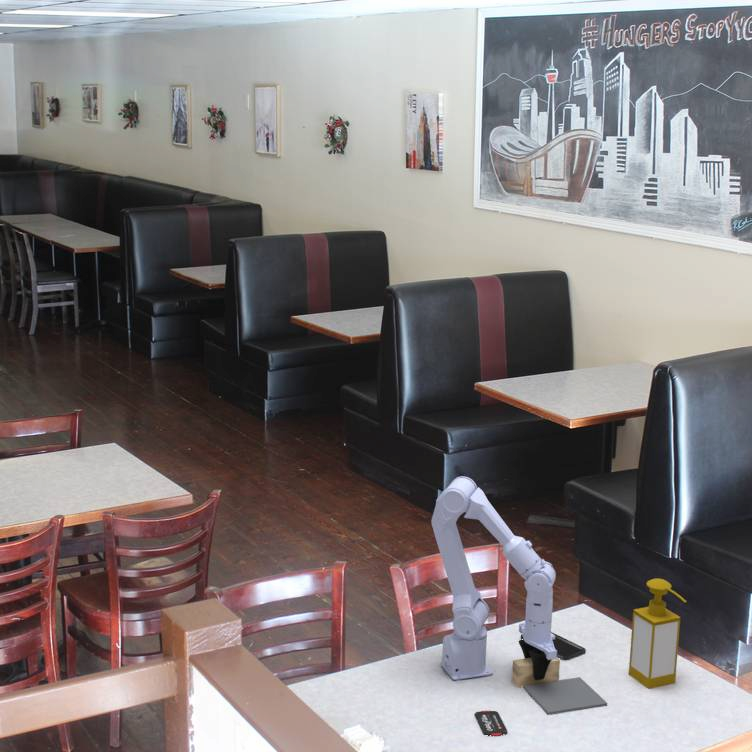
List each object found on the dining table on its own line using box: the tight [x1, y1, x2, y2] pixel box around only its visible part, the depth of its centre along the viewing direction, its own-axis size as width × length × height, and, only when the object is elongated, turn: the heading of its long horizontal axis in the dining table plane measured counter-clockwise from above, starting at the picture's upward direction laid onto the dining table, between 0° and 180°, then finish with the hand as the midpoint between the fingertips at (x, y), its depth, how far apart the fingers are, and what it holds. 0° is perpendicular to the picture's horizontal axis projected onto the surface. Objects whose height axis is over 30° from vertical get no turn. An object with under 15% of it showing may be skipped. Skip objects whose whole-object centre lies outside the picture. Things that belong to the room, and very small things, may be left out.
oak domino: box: [511, 657, 561, 688], centre depth 242 cm, size 10×3×5 cm, turn 108°
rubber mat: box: [522, 676, 608, 715], centre depth 236 cm, size 14×12×1 cm
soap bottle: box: [628, 578, 687, 690], centre depth 240 cm, size 7×13×24 cm, turn 24°
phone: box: [520, 631, 586, 662], centre depth 260 cm, size 8×1×15 cm
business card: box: [474, 710, 508, 737], centre depth 224 cm, size 10×1×5 cm
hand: (535, 675), depth 242 cm, fingers closed on oak domino, 3 cm apart
